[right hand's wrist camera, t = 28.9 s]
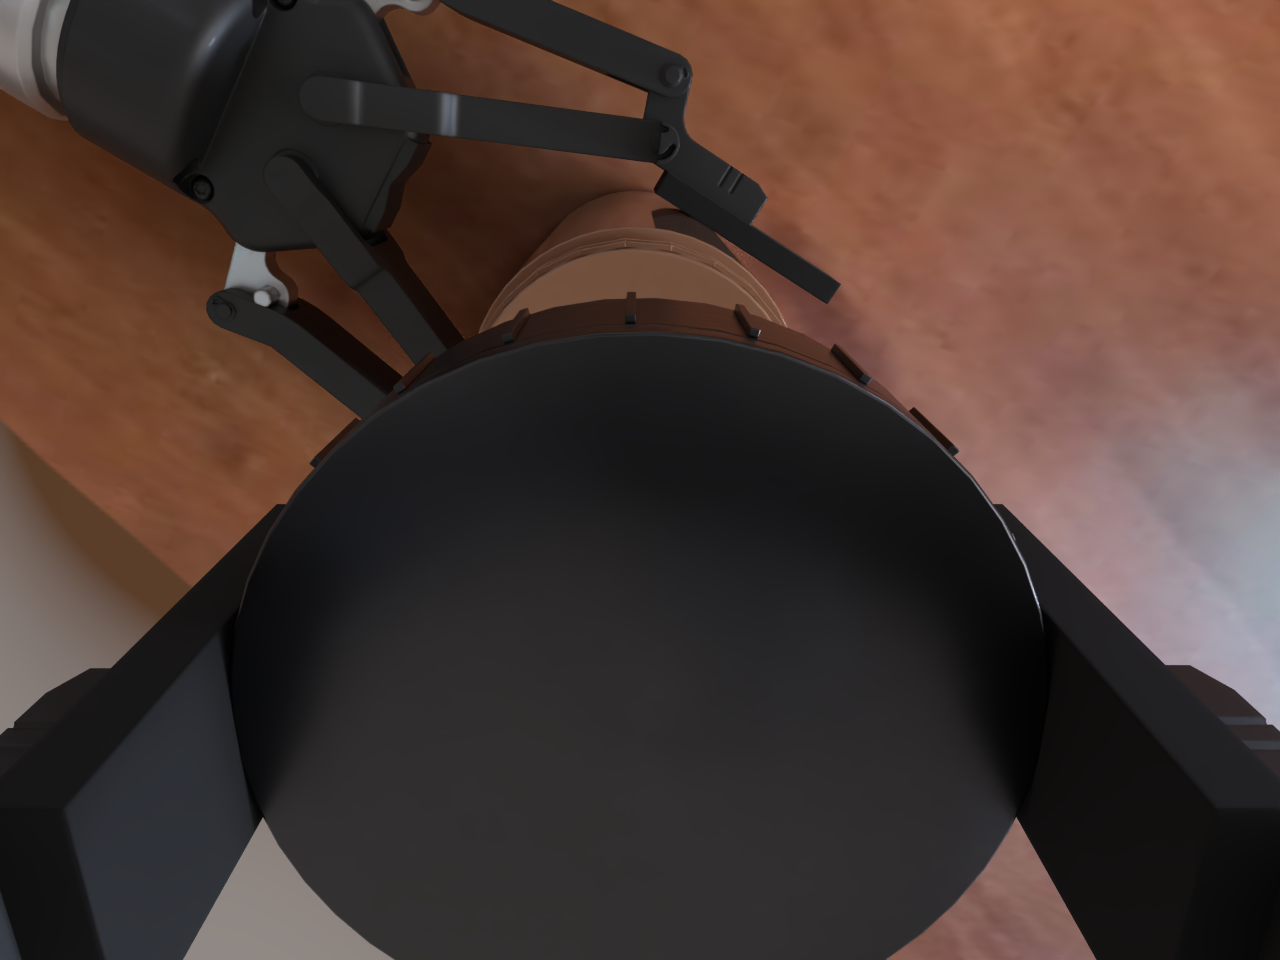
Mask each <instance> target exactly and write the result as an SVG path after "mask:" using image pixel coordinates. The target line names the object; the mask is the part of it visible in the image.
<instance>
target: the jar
mask: <svg viewBox="0 0 1280 960" xmlns="http://www.w3.org/2000/svg"><path fill="white" fill-rule="evenodd" d="M627 292H636V298H661V299H670V300H679V301H689V302H698V303H707V304H711V305H715V306H719V307H723V308H728V309H732V310H734V309H735V305H736V304H740V305H744V306H745V307H746V309H747V310H748V312H749V313H750V314H752V315H756V316H759V317H761V318H764V319H766V320H769V321H771V322H774V323H777V324H779V325H782V326H784V327H787V325H786V323H785V321H784V319H783V317H782V315H781V313H780V311H779V309H778V307H777V305H776V304H775V302H774V301H773V300H772V298H771V297H770V295H769V294H768V292H767V291H766V290H765V288H764V287H763V286H762V285H761V283H760V282H759V281H758V280H757V279H756V277H755V276H754V275H753V274H752V273H751V271H750V270H749V269H748V268H747V267H746V265H745V264H744V263H743V262H742V261H741V259H740V258H739V257H738V256H737V255H736V254H735V252H734V251H733V250H732V249H731V248H730V246H729V245H728V244H727V243H726V242H725V240H724V239H723V238H722V237H721V236H720V235H719V234H717V233H716V232H714V231H713V230H711V229H710V228H708V227H706V226H705V225H703V224H702V223H700V222H699V221H697V220H696V219H694V218H693V217H691V216H689V215H688V214H686V213H685V212H683V211H682V210H680V209H679V208H677V207H675V206H674V205H672V204H671V203H669V202H668V201H666V200H665V199H663V198H662V197H660V196H658V195H657V194H655V193H653V192H647V191H623V192H615V193H611V194H608V195H604V196H601V197H598V198H596V199H594V200H591V201H589V202H587V203H585V204H584V205H582V206H580V207H579V208H577V209H576V210H574V211H573V212H572V213H571V214H569V215H568V216H567V217H566V218H565V219H564V220H563V221H562V222H561V223H560V224H559V225H558V226H557V227H556V228H555V229H554V230H553V231H552V233H551V234H550V235H549V236H548V237H547V238H546V240H545V241H544V242H543V243H542V244H541V245H540V246H539V248H538V249H537V250H536V251H535V252H534V253H533V254H532V256H531V257H530V258H529V259H528V260H527V261H526V263H525V264H524V265H523V266H522V267H521V268H520V269H519V271H518V272H517V273H516V274H515V275H514V276H513V278H512V279H511V280H510V281H509V282H508V283H507V284H506V286H505V287H504V288H503V290H502V291H501V292H500V294H499V295H498V297H497V298H496V299H495V301H494V302H493V303H492V305H491V307H490V309H489V311H488V313H487V315H486V316H485V318H484V320H483V322H482V324H481V327H480V330H479V333H481V332H484V331H486V330H488V329H490V328H492V327H495V326H497V325H499V324H501V323H504V322H506V321H509V320H513V319H514V317H515V316H516V315H517V313H518V312H519V311H520V310H522V309H525V308H528V309H529V312H530V314H533V313H536V312H539V311H543V310H546V309H550V308H553V307H558V306H565V305H571V304H577V303H584V302H590V301H596V300H603V299H626V298H627ZM787 328H788V327H787ZM479 333H478V334H479Z"/></svg>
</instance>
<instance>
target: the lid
mask: <svg viewBox="0 0 1280 960" xmlns="http://www.w3.org/2000/svg"><path fill="white" fill-rule="evenodd" d="M393 389H394V390H393V391H391V392H390V393H389V394H388V395H387V396H385V397H384V398H383V399H382V400H381V401H380V402H379V403H378V404H377V405H376V406H375V407H374V408H373V409H372V410H371V411H370V412H369V413H368V414H367V415H366V416H365V417H364V418H363V419H362V420H361V421H359V420H358V419H357V418H355V419H354V420H353V421H352V422H351V423H350V424H349V425H348V426H347V427H346V428H345V429H344V430H342V431H341V432H340V433H339V434H338V435H337V436H336V437H335V438H334V439H333V440H332V441H331V442H330V443H329V444H328V445H327V446H326V447H325V448H324V449H323V450H322V451H321V452H319V453H318V454H317V455H316V456H315V457H314V458H313V460H312V461H311V462H310V464H311V465H312V466H313V467H314V470H313V471H312V472H311V473H310V474H309V475H308V476H307V477H306V479H305V480H304V481H303V482H302V483H301V484H300V485H299V487H298V488H297V489H296V490H295V491H294V493H293V495H292V496H291V498H290V499H289V501H288V502H287V504H286V505H285V507H284V509H283V510H282V512H281V513H280V515H279V516H278V518H277V519H276V521H275V523H274V524H273V526H272V527H271V529H270V530H269V532H268V533H267V536H266V538H265V540H264V542H263V545H262V547H261V548H260V551H259V553H258V556H257V558H256V561H255V563H254V565H253V567H252V570H251V572H250V574H249V576H248V579H247V582H246V586H245V590H244V593H243V597H242V601H241V605H240V609H239V612H238V616H237V620H236V624H235V630H234V640H233V650H232V660H231V669H230V680H231V698H232V711H233V718H234V723H235V729H236V734H237V739H238V745H239V750H240V755H241V761H242V766H243V768H244V771H245V774H246V777H247V779H248V782H249V785H250V787H251V790H252V793H253V796H254V798H255V801H256V804H257V806H258V808H259V810H260V812H261V814H262V816H263V818H264V819H265V821H266V823H267V825H268V827H269V829H270V830H271V832H272V834H273V836H274V838H275V840H276V842H277V844H278V845H279V847H280V848H281V849H282V851H283V852H284V854H285V855H286V856H287V858H288V859H289V861H290V862H291V863H292V865H293V866H294V868H295V869H296V870H297V872H298V873H299V874H300V876H301V877H302V879H303V880H304V881H305V883H306V884H307V885H308V886H309V887H310V888H311V889H312V890H313V891H314V892H315V893H316V894H317V895H318V896H319V897H320V899H321V900H322V901H323V902H324V903H325V904H326V905H327V906H328V907H329V908H330V909H331V910H332V911H333V912H334V913H335V915H337V916H338V917H339V918H340V919H341V920H343V921H344V922H345V923H346V924H347V925H349V926H350V927H351V928H352V929H353V930H355V931H356V932H357V933H358V934H359V935H361V936H362V937H363V938H364V939H365V940H366V941H368V942H369V943H370V944H372V945H373V946H375V947H376V948H378V949H379V950H381V951H382V952H384V953H385V954H387V955H388V956H390V957H391V958H393V959H394V960H886V959H887V958H889V957H890V956H892V955H893V954H894V953H896V952H897V951H899V950H900V949H901V948H903V947H904V946H905V945H907V944H908V943H910V942H911V941H912V940H914V939H915V938H917V937H918V936H919V935H921V934H922V933H923V932H924V931H925V930H926V929H928V928H929V927H930V926H931V925H932V924H933V923H934V922H935V921H936V920H937V919H939V918H940V917H941V916H942V915H943V914H944V913H945V912H946V911H947V910H948V909H949V908H951V907H952V906H953V905H954V904H955V903H956V902H957V901H958V899H959V898H960V897H961V896H962V895H963V894H964V892H965V891H966V890H967V889H968V888H969V887H970V885H971V884H972V883H973V882H974V881H975V880H976V878H977V877H978V876H979V875H980V874H981V873H982V871H983V870H984V869H985V867H986V866H987V864H988V863H989V861H990V860H991V858H992V857H993V855H994V854H995V852H996V851H997V849H998V848H999V846H1000V845H1001V843H1002V842H1003V840H1004V839H1005V837H1006V835H1007V834H1008V832H1009V830H1010V828H1011V826H1012V824H1013V822H1014V820H1015V818H1016V816H1017V814H1018V812H1019V809H1020V807H1021V805H1022V803H1023V801H1024V799H1025V797H1026V795H1027V793H1028V790H1029V787H1030V784H1031V780H1032V777H1033V774H1034V771H1035V768H1036V764H1037V761H1038V757H1039V752H1040V747H1041V741H1042V735H1043V730H1044V724H1045V718H1046V713H1047V707H1048V651H1047V645H1046V638H1045V632H1044V626H1043V619H1042V613H1041V608H1040V605H1039V602H1038V599H1037V596H1036V593H1035V589H1034V586H1033V583H1032V580H1031V577H1030V574H1029V571H1028V568H1027V565H1026V562H1025V560H1024V558H1023V556H1022V554H1021V552H1020V550H1019V548H1018V547H1017V545H1016V543H1015V537H1014V535H1013V533H1012V532H1011V531H1010V530H1009V529H1008V527H1007V525H1006V523H1005V521H1004V519H1003V517H1002V516H1001V515H1000V513H999V512H998V510H997V509H996V508H995V506H994V505H993V503H992V502H991V501H990V499H989V498H988V497H987V495H986V494H985V492H984V491H983V490H982V488H981V487H980V485H979V484H978V483H977V481H976V480H975V478H974V477H973V476H972V475H971V474H970V473H969V472H968V471H967V470H966V469H965V467H964V466H963V465H962V464H961V463H960V462H959V461H958V460H957V459H956V458H955V457H954V455H956V454H957V453H958V452H959V450H958V449H957V448H956V446H955V445H954V444H953V443H952V442H951V441H949V440H948V439H947V438H946V437H945V436H944V435H943V434H942V433H941V432H940V431H939V430H938V429H937V428H936V427H935V426H934V425H933V424H932V423H931V422H929V421H928V420H927V419H926V418H925V417H924V416H923V415H922V414H921V413H920V412H919V411H918V410H917V409H916V408H915V407H913V408H912V409H911V410H910V411H908V410H907V409H906V408H905V407H904V406H903V405H902V404H901V403H900V402H899V401H898V400H897V399H896V398H895V397H894V396H893V395H892V394H891V393H890V392H888V391H887V390H886V389H885V388H884V387H883V386H882V385H881V384H879V383H878V382H877V381H875V380H874V379H873V378H872V377H871V376H870V375H869V374H868V373H867V372H866V371H865V370H864V369H863V368H862V367H861V366H860V365H859V364H858V363H857V362H856V361H855V360H854V359H853V358H852V357H851V356H850V355H849V354H848V353H847V352H846V351H845V350H844V349H843V348H842V347H840V346H838V345H837V344H834V346H833V347H832V349H829V348H827V347H825V346H824V345H822V344H820V343H818V342H817V341H815V340H813V339H811V338H809V337H808V336H806V335H804V334H802V333H799V332H797V331H794V330H792V329H789V328H787V327H784V326H782V325H779V324H777V323H774V322H771V321H769V320H766V319H764V318H761V317H759V316H756V315H752V314H750V313H749V312H748V310H747V309H746V307H745V306H744V305H740V304H736V305H735V309H734V310H732V309H728V308H723V307H719V306H715V305H711V304H707V303H698V302H689V301H679V300H670V299H661V298H636V292H627V298H626V299H603V300H596V301H590V302H584V303H577V304H571V305H565V306H558V307H553V308H550V309H546V310H543V311H539V312H536V313H533V314H530V312H529V309H528V308H525V309H522V310H520V311H519V312H518V313H517V315H516V316H515V317H514V319H513V320H509V321H506V322H504V323H501V324H499V325H497V326H495V327H492V328H490V329H488V330H486V331H484V332H481V333H479V334H477V335H475V336H473V337H470V338H468V339H466V340H464V341H461V342H460V343H458V344H456V345H455V346H453V347H452V348H450V349H448V350H447V351H445V352H444V353H442V354H440V355H439V356H437V357H436V358H435V356H434V355H433V353H432V352H430V353H428V354H427V355H425V356H424V357H423V358H422V359H421V360H420V361H419V362H418V363H417V364H416V365H415V366H414V367H413V368H412V369H411V370H410V371H409V372H408V373H407V374H406V375H405V376H404V377H403V378H402V379H401V380H400V381H398V382H397V383H396V384H395V385H394V386H393Z"/></svg>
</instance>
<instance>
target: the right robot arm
mask: <svg viewBox="0 0 1280 960" xmlns="http://www.w3.org/2000/svg"><path fill="white" fill-rule="evenodd" d="M285 505H286V504H277V505H276V506H275V507H274V508H273V509H272V510H271V511H270V512H269V513H268V514H267V515H266V516H265V517H264V518H263V519H261V520H260V521H259V522H258V523H257V524H256V525H255V526H254V527H253V528H252V529H251V530H250V531H249V532H248V533H247V534H246V535H245V536H244V537H243V538H242V539H241V540H240V541H239V542H238V543H237V544H236V545H235V546H234V547H233V548H232V549H231V550H230V551H229V552H228V553H227V554H226V555H225V556H224V557H223V558H222V559H221V560H220V561H219V562H218V563H217V564H216V565H215V566H214V567H213V568H212V569H211V570H210V571H209V572H208V573H207V574H206V575H205V576H204V577H203V578H202V579H201V580H200V581H199V582H198V583H197V584H196V585H195V586H194V587H193V588H192V589H191V590H190V591H189V592H188V593H187V594H186V595H185V596H184V597H183V598H182V599H181V600H179V602H178V603H177V604H175V605H174V606H173V608H171V609H170V610H169V611H168V612H167V613H166V614H165V615H164V616H163V617H162V618H161V619H160V620H159V621H158V622H157V623H156V624H155V625H154V626H153V627H152V628H151V629H150V630H149V631H148V632H147V633H146V634H145V635H144V636H143V637H142V638H141V639H140V640H139V641H138V642H137V643H136V644H135V645H134V646H133V647H132V648H131V649H130V650H129V651H128V652H127V653H126V654H125V655H124V656H123V657H122V658H121V659H120V660H119V661H118V662H117V663H116V664H115V665H114V666H113V667H112V668H90V669H88V670H87V671H85V672H83V673H81V674H79V675H78V676H76V677H74V678H72V679H70V680H69V681H67V682H65V683H63V684H61V685H60V686H58V687H56V688H54V689H52V690H51V691H49V692H47V693H45V694H44V695H43V696H42V697H41V698H40V699H39V700H38V701H37V702H36V703H35V704H34V705H32V706H31V707H30V708H29V709H28V710H27V711H26V712H25V713H24V714H23V715H22V716H21V717H19V718H18V719H17V720H16V721H15V722H14V727H13V728H8V729H6V730H5V731H4V732H3V733H2V734H1V735H0V960H183V958H184V957H185V955H186V953H187V951H188V950H189V948H190V946H191V944H192V942H193V941H194V939H195V937H196V935H197V933H198V932H199V930H200V928H201V926H202V925H203V923H204V921H205V919H206V918H207V916H208V914H209V912H210V910H211V908H212V907H213V905H214V903H215V901H216V900H217V898H218V896H219V894H220V893H221V891H222V889H223V887H224V885H225V884H226V882H227V880H228V878H229V877H230V875H231V873H232V871H233V869H234V867H235V866H236V864H237V862H238V860H239V859H240V857H241V855H242V853H243V852H244V850H245V848H246V846H247V844H248V843H249V841H250V839H251V837H252V836H253V834H254V832H255V830H256V828H257V827H258V825H259V823H260V821H261V819H262V818H263V816H262V814H261V812H260V810H259V808H258V806H257V804H256V801H255V798H254V796H253V793H252V790H251V787H250V785H249V782H248V779H247V777H246V774H245V771H244V768H243V766H242V761H241V755H240V750H239V745H238V739H237V734H236V729H235V723H234V718H233V711H232V698H231V680H230V669H231V660H232V650H233V640H234V630H235V624H236V620H237V616H238V612H239V609H240V605H241V601H242V597H243V593H244V590H245V586H246V582H247V579H248V576H249V574H250V572H251V570H252V567H253V565H254V563H255V561H256V558H257V556H258V553H259V551H260V548H261V547H262V545H263V542H264V540H265V538H266V536H267V533H268V532H269V530H270V529H271V527H272V526H273V524H274V523H275V521H276V519H277V518H278V516H279V515H280V513H281V512H282V510H283V509H284V507H285ZM993 505H994V506H995V508H996V509H997V510H998V512H999V513H1000V515H1001V516H1002V517H1003V519H1004V521H1005V523H1006V525H1007V527H1008V529H1009V530H1010V531H1011V532H1012V533H1013V535H1014V537H1015V543H1016V545H1017V547H1018V548H1019V550H1020V552H1021V554H1022V556H1023V558H1024V560H1025V562H1026V565H1027V568H1028V571H1029V574H1030V577H1031V580H1032V583H1033V586H1034V589H1035V593H1036V596H1037V599H1038V602H1039V605H1040V608H1041V613H1042V619H1043V626H1044V632H1045V638H1046V645H1047V651H1048V707H1047V713H1046V718H1045V724H1044V730H1043V735H1042V741H1041V747H1040V752H1039V757H1038V761H1037V764H1036V768H1035V771H1034V774H1033V777H1032V780H1031V784H1030V787H1029V790H1028V793H1027V795H1026V797H1025V799H1024V801H1023V803H1022V805H1021V807H1020V809H1019V812H1018V814H1017V816H1016V817H1017V819H1018V821H1019V822H1020V824H1021V826H1022V828H1023V829H1024V831H1025V833H1026V835H1027V837H1028V838H1029V840H1030V842H1031V844H1032V845H1033V847H1034V849H1035V851H1036V853H1037V854H1038V856H1039V858H1040V860H1041V862H1042V863H1043V865H1044V867H1045V869H1046V870H1047V872H1048V874H1049V876H1050V878H1051V879H1052V881H1053V883H1054V885H1055V886H1056V888H1057V890H1058V892H1059V894H1060V895H1061V897H1062V899H1063V901H1064V903H1065V904H1066V906H1067V908H1068V910H1069V911H1070V913H1071V915H1072V917H1073V919H1074V920H1075V922H1076V924H1077V926H1078V927H1079V929H1080V931H1081V933H1082V935H1083V936H1084V938H1085V940H1086V942H1087V944H1088V945H1089V947H1090V949H1091V951H1092V952H1093V954H1094V956H1095V958H1096V960H1280V731H1279V730H1278V729H1276V728H1275V727H1274V726H1273V725H1267V724H1266V718H1264V717H1263V716H1262V715H1261V714H1260V713H1259V712H1258V711H1257V710H1256V709H1255V708H1253V707H1252V706H1251V705H1250V704H1249V703H1248V702H1247V701H1246V700H1245V699H1244V698H1243V697H1241V696H1240V695H1239V694H1238V693H1237V692H1236V691H1235V690H1233V689H1232V688H1230V687H1228V686H1226V685H1224V684H1223V683H1221V682H1219V681H1217V680H1215V679H1214V678H1212V677H1210V676H1208V675H1206V674H1205V673H1203V672H1201V671H1199V670H1197V669H1196V668H1194V667H1192V666H1190V665H1165V664H1164V663H1163V662H1162V661H1161V660H1160V659H1159V658H1158V657H1157V656H1156V655H1155V654H1154V653H1153V652H1151V651H1150V650H1149V649H1148V648H1147V647H1146V646H1145V645H1144V644H1143V643H1142V642H1141V641H1140V640H1139V639H1138V638H1137V637H1136V636H1135V635H1134V634H1133V633H1132V632H1131V631H1130V630H1129V629H1128V628H1127V627H1126V626H1125V625H1124V624H1123V623H1122V622H1121V621H1120V620H1119V619H1118V618H1117V617H1116V616H1115V615H1114V614H1113V613H1112V612H1111V611H1110V610H1109V609H1108V608H1107V607H1106V606H1105V605H1104V604H1103V603H1102V602H1101V601H1100V600H1099V599H1098V598H1097V597H1096V596H1095V595H1094V594H1093V593H1092V592H1091V591H1090V590H1089V589H1088V588H1087V587H1086V586H1085V585H1084V584H1083V583H1082V582H1081V581H1080V580H1079V579H1078V578H1077V577H1076V576H1075V575H1074V574H1073V573H1072V572H1071V571H1070V570H1068V569H1067V568H1066V567H1065V566H1064V565H1063V564H1062V563H1061V562H1060V561H1059V560H1058V559H1057V558H1056V557H1055V556H1054V555H1053V554H1052V553H1051V552H1050V551H1049V550H1048V549H1047V548H1046V547H1045V546H1044V545H1043V544H1042V543H1041V542H1040V541H1039V540H1038V539H1037V538H1036V537H1035V536H1034V535H1033V534H1032V533H1031V532H1030V531H1029V530H1028V529H1027V528H1026V527H1025V526H1024V525H1023V524H1022V523H1021V522H1020V521H1019V520H1018V519H1017V518H1016V517H1015V516H1014V515H1013V514H1012V513H1011V512H1010V511H1009V510H1008V509H1007V508H1006V507H1005V506H1004V505H1003V504H993Z"/></svg>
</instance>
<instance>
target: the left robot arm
mask: <svg viewBox="0 0 1280 960" xmlns="http://www.w3.org/2000/svg"><path fill="white" fill-rule="evenodd" d="M440 2H442V3H443V4H445V5H446V6H448V7H449V8H451V9H453V10H454V11H456V12H457V13H459V14H460V15H463V16H465V17H467V18H469V19H471V20H473V21H475V22H477V23H480V24H482V25H485V26H487V27H490V28H492V29H494V30H497V31H499V32H502V33H504V34H507V35H509V36H511V37H514V38H516V39H519V40H521V41H524V42H526V43H528V44H531V45H533V46H536V47H538V48H541V49H543V50H545V51H548V52H550V53H553V54H555V55H558V56H560V57H562V58H565V59H567V60H570V61H572V62H575V63H577V64H579V65H582V66H584V67H587V68H589V69H592V70H594V71H596V72H599V73H601V74H604V75H606V76H608V77H611V78H613V79H616V80H618V81H621V82H623V83H625V84H628V85H630V86H633V87H635V88H638V89H640V90H642V91H645V92H647V93H648V96H647V102H646V107H645V112H644V117H643V119H639V118H631V117H624V116H616V115H609V114H601V113H594V112H586V111H579V110H571V109H563V108H556V107H548V106H541V105H533V104H526V103H518V102H510V101H503V100H495V99H488V98H480V97H473V96H465V95H458V94H451V93H444V92H437V91H429V90H422V89H416V88H415V85H414V83H413V81H412V79H411V77H410V75H409V72H408V70H407V68H406V66H405V64H404V62H403V59H402V57H401V55H400V53H399V51H398V49H397V46H396V44H395V42H394V40H393V38H392V36H391V33H390V31H389V29H388V27H387V25H386V23H385V20H384V16H385V15H386V14H387V13H388V12H389V11H391V10H393V9H398V8H402V9H406V10H408V11H410V12H412V13H414V14H416V15H422V16H423V15H428V14H430V13H432V12H433V11H434V10H435V9H436V8H437V7H438V5H439V4H440ZM692 76H693V74H692V69H691V65H690V64H689V62H688V61H687V59H686V58H684V57H683V56H681V55H680V54H677V53H675V52H673V51H670V50H668V49H666V48H663V47H661V46H658V45H656V44H654V43H651V42H649V41H647V40H644V39H642V38H639V37H637V36H635V35H632V34H630V33H627V32H625V31H623V30H620V29H618V28H616V27H613V26H611V25H608V24H606V23H604V22H601V21H599V20H597V19H594V18H592V17H589V16H587V15H585V14H582V13H580V12H577V11H575V10H573V9H570V8H568V7H566V6H563V5H561V4H558V3H556V2H554V1H551V0H0V89H1V90H2V91H4V92H6V93H7V94H9V95H11V96H13V97H14V98H16V99H18V100H19V101H21V102H23V103H24V104H26V105H28V106H29V107H31V108H33V109H35V110H36V111H38V112H40V113H41V114H43V115H45V116H46V117H48V118H51V119H56V120H61V121H68V120H69V122H70V124H71V125H72V127H73V128H74V129H75V131H76V132H77V133H79V134H80V135H81V136H82V137H84V138H86V139H87V140H89V141H91V142H92V143H94V144H96V145H98V146H99V147H101V148H103V149H104V150H106V151H108V152H110V153H111V154H113V155H115V156H117V157H118V158H120V159H122V160H124V161H125V162H127V163H129V164H130V165H132V166H134V167H136V168H137V169H139V170H141V171H142V172H144V173H146V174H148V175H149V176H151V177H153V178H155V179H156V180H158V181H160V182H161V183H163V184H165V185H167V186H168V187H170V188H172V189H173V190H175V191H177V192H179V193H180V194H182V195H184V196H186V197H188V198H190V199H192V200H193V201H195V202H197V203H199V204H201V205H202V206H204V207H205V208H206V209H208V210H209V211H210V212H211V213H212V214H213V215H214V216H215V217H216V218H217V219H218V220H219V222H220V223H221V224H222V226H223V227H224V229H225V230H226V231H227V233H228V234H229V236H230V237H231V238H232V239H233V240H234V241H235V242H236V244H235V248H234V252H233V256H232V260H231V264H230V268H229V272H228V276H227V280H226V284H225V287H224V289H223V290H221V291H219V292H216V293H214V294H213V295H212V296H210V297H209V299H208V302H207V313H208V316H209V318H210V319H211V320H212V321H213V323H214V324H216V325H218V326H220V327H221V328H224V329H227V330H229V331H232V332H234V333H237V334H240V335H242V336H245V337H248V338H250V339H253V340H255V341H258V342H261V343H263V344H266V345H268V346H271V347H272V348H274V349H275V350H276V351H277V352H279V353H280V354H281V355H282V356H284V357H285V358H286V359H288V360H289V361H290V362H291V363H293V364H294V365H295V366H296V367H298V368H299V369H300V370H301V371H303V372H304V373H305V374H306V375H308V376H309V377H310V378H311V379H313V380H314V381H315V382H316V383H318V384H319V385H320V386H321V387H323V388H324V389H325V390H327V391H328V392H329V393H330V394H332V395H333V396H334V397H335V398H337V399H338V400H339V401H340V402H342V403H343V404H344V405H345V406H347V407H348V408H349V409H350V410H352V411H353V412H354V413H355V414H357V415H358V416H359V417H361V418H362V419H363V418H364V417H365V416H366V415H367V414H368V413H369V412H370V411H371V410H372V409H373V408H374V407H375V406H376V405H377V404H378V403H379V402H380V401H381V400H382V399H383V398H384V397H385V396H387V395H388V394H389V393H390V392H391V391H393V390H394V389H393V386H394V385H395V384H396V383H397V382H398V381H400V380H401V379H402V378H403V377H402V376H401V375H400V374H399V373H397V372H396V371H395V370H394V369H392V368H391V367H390V366H389V365H388V364H386V363H385V362H384V361H383V360H381V359H380V358H379V357H378V356H377V355H375V354H374V353H373V352H372V351H371V350H369V349H368V348H367V347H366V346H364V345H363V344H362V343H361V342H360V341H358V340H357V339H356V338H355V337H353V336H352V335H351V334H350V333H349V332H347V331H346V330H345V329H344V328H342V327H341V326H340V325H339V324H338V323H336V322H335V321H334V320H333V319H331V318H330V317H329V316H328V315H326V314H325V313H324V312H322V311H321V310H320V309H318V308H317V307H315V306H313V305H312V304H310V303H308V302H307V301H305V300H303V299H301V298H298V287H297V285H296V283H295V282H294V280H293V279H292V278H291V277H289V276H288V275H286V274H285V273H284V272H282V271H281V269H280V268H279V267H278V265H277V263H276V258H275V254H276V251H287V250H300V249H313V248H318V249H319V250H320V251H321V253H322V254H323V255H324V257H325V258H326V259H327V260H328V262H329V263H330V264H331V266H332V267H333V268H334V269H335V271H336V272H337V273H338V275H339V276H340V277H341V278H342V280H343V281H344V282H345V283H346V284H347V285H348V286H349V287H351V288H353V289H354V290H356V291H357V292H358V293H360V295H361V296H362V297H363V298H364V300H365V301H366V302H367V303H368V305H369V306H370V307H371V309H372V310H373V311H374V312H375V314H376V315H377V316H378V318H379V319H380V320H381V321H382V323H383V324H384V325H385V327H386V328H387V329H388V331H389V332H390V333H391V334H392V336H393V337H394V338H395V340H396V341H397V342H398V343H399V345H400V346H401V347H402V349H403V350H404V351H405V352H406V354H407V355H408V356H409V358H410V359H411V360H412V361H413V363H414V364H415V365H416V364H417V363H418V362H419V361H420V360H421V359H422V358H423V357H424V356H425V355H427V354H428V353H430V352H432V353H433V355H434V356H435V358H436V357H437V356H439V355H440V354H442V353H444V352H445V351H447V350H448V349H450V348H452V347H453V346H455V345H456V344H458V343H460V342H461V341H464V338H463V337H462V336H461V334H460V333H459V332H458V330H457V329H456V328H455V326H454V325H453V324H452V322H451V321H450V320H449V318H448V317H447V316H446V314H445V313H444V312H443V310H442V309H441V308H440V306H439V305H438V304H437V302H436V301H435V300H434V298H433V297H432V296H431V294H430V293H429V292H428V290H427V289H426V288H425V286H424V285H423V284H422V282H421V281H420V280H419V278H418V277H417V276H416V274H415V273H414V272H413V270H412V269H411V268H410V266H409V265H408V263H407V262H406V260H405V257H404V254H403V252H402V250H401V248H400V247H399V245H398V244H397V242H396V241H395V240H394V238H393V237H392V236H391V234H390V233H389V232H388V230H387V229H386V228H389V227H391V225H392V223H393V221H394V219H395V217H396V215H397V213H398V211H399V209H400V206H401V201H402V196H403V191H404V186H405V183H406V181H407V180H408V179H409V178H410V177H411V175H412V174H413V173H414V172H415V171H416V170H417V169H418V168H419V167H420V166H421V165H422V163H423V161H424V159H425V157H426V155H427V153H428V151H429V149H430V147H431V145H432V143H431V142H429V134H431V135H439V136H448V137H457V138H465V139H473V140H481V141H488V142H496V143H504V144H511V145H519V146H527V147H534V148H542V149H550V150H558V151H565V152H573V153H581V154H588V155H596V156H604V157H611V158H619V159H627V160H634V161H642V162H650V163H654V164H655V165H657V166H658V167H660V168H661V169H663V170H664V172H663V174H662V175H661V177H660V179H659V181H658V182H657V184H656V186H655V187H654V191H655V194H657V195H658V196H660V197H662V198H663V199H665V200H666V201H668V202H669V203H671V204H672V205H674V206H675V207H677V208H679V209H680V210H682V211H683V212H685V213H686V214H688V215H689V216H691V217H693V218H694V219H696V220H697V221H699V222H700V223H702V224H703V225H705V226H706V227H708V228H710V229H711V230H713V231H714V232H716V233H717V234H719V235H720V236H722V237H724V238H725V239H727V240H728V241H730V242H731V243H733V244H734V245H736V246H737V247H739V248H741V249H742V250H744V251H745V252H747V253H748V254H750V255H751V256H753V257H755V258H756V259H758V260H759V261H761V262H762V263H764V264H765V265H767V266H768V267H770V268H772V269H773V270H775V271H776V272H778V273H779V274H781V275H782V276H784V277H786V278H787V279H789V280H790V281H792V282H793V283H795V284H796V285H798V286H799V287H801V288H803V289H804V290H806V291H807V292H809V293H810V294H812V295H813V296H815V297H817V298H818V299H820V300H821V301H823V302H824V303H826V304H828V302H829V301H830V299H831V298H832V297H833V295H834V294H835V292H836V291H837V289H838V288H839V286H840V285H841V284H840V283H839V282H837V281H836V280H834V279H833V278H832V277H830V276H829V275H828V274H826V273H825V272H823V271H822V270H820V269H819V268H817V267H816V266H814V265H813V264H811V263H810V262H808V261H807V260H805V259H803V258H802V257H800V256H799V255H797V254H796V253H794V252H793V251H791V250H790V249H788V248H787V247H785V246H784V245H782V244H780V243H779V242H777V241H776V240H774V239H773V238H771V237H770V236H768V235H767V234H765V233H764V232H762V231H761V230H759V229H758V228H756V227H754V226H753V225H751V224H752V222H753V220H754V219H755V217H756V216H757V214H758V213H759V211H760V209H761V208H762V206H763V205H764V203H765V202H766V200H767V196H766V195H765V193H764V192H763V190H762V189H761V187H760V186H759V184H758V183H756V182H755V181H753V180H752V179H750V178H749V177H747V176H746V175H744V174H742V173H741V172H740V171H738V170H737V169H735V168H734V167H732V166H731V165H729V164H728V163H726V162H725V161H723V160H721V159H720V158H718V157H717V156H715V155H714V154H712V153H711V152H709V151H708V150H706V149H705V148H703V147H702V146H700V145H699V144H697V143H696V142H695V141H694V140H692V139H691V137H690V136H689V135H688V133H687V131H686V128H685V124H684V114H685V109H686V104H687V99H688V94H689V89H690V84H691V82H692Z"/></svg>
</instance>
